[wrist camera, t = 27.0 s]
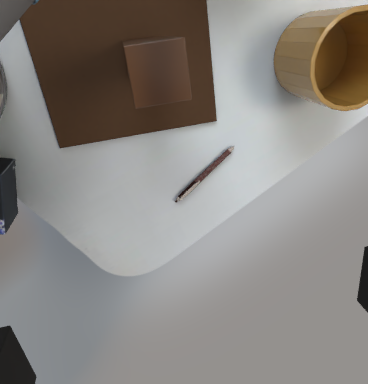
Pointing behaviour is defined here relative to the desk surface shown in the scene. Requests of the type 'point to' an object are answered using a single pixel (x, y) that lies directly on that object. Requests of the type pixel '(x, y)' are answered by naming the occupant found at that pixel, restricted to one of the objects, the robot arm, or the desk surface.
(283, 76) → the wooden pot
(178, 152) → the desk surface
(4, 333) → the robot arm
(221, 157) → the pen
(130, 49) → the block
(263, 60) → the desk surface
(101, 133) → the mat
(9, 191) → the box
